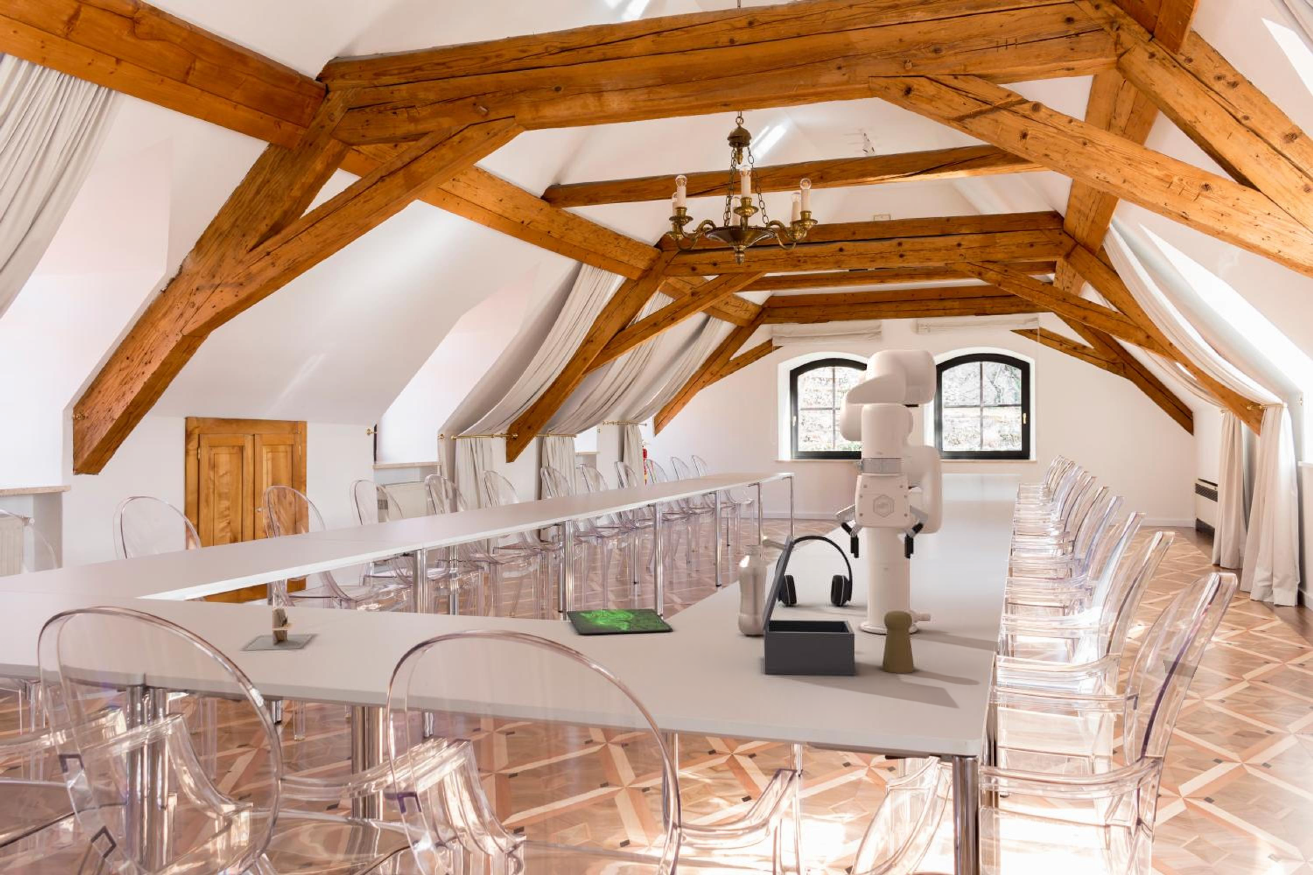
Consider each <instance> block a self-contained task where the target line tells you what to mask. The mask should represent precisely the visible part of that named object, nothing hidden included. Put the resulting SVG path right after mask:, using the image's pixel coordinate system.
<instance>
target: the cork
mask: <svg viewBox="0 0 1313 875" xmlns="http://www.w3.org/2000/svg"><path fill="white" fill-rule="evenodd" d="M884 624H885V626H886V628H887V633H886V634H885V640H884V641H885V642H884V647H883V648H884V650H883V658H882V665H881V669H882V671H885V672H888V673H894V674H895V673H896V674H906V673H907V674H908V673H912V672H913V673H914V671H915V664H914V663H915V662H914V656H913V649H912V642H911V633H909V629H910V627H911V625H912V618H911V616H910V614H909V613H907V612H903V611H891V612H888V613H886V615H885V617H884Z"/></svg>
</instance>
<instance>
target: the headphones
mask: <svg viewBox="0 0 1313 875" xmlns="http://www.w3.org/2000/svg"><path fill="white" fill-rule="evenodd" d="M793 540H794V545H793V547H794V546H795V545H796V544H799V543H801V542H805V541H812V540H815V541H823V542H826V543H828V544H830V545H832V546H833V547H834V548H835V549H836V550H838V552H839V553H840V554H841V556H842V558H843V559H844V562H845V564H846V566H847V571H848V578H847V576H846V575H844V574H842V575H841V574H834V575H833V576H832V580H831V585H830V586H831V587H830V603H831V604H832V605H835V606H842V607H843V606H844V605H845V604H846V603H848V602H849V603H850V602H851V601H852V596H853V586H854V585H853V572H852V568H851V567H852V566H851V563H850V562H849V561H850V560H849V559H848V557H847V555H846V554H845V552H844V550H843V549H842V548H841V547H840V545H838V543H836V542H835V541H833V540H832V539H830V538H828V537H826V536H822V535H816V534H815V535H814V534H810V535H803V536H800V537H797V538H795V539H793ZM781 555H782V553H780V555H779V557H778V559H777V562H776V565H775V570H774V575H775V574H776V571H777V567H778V564H779V561H780V558H781ZM797 598H798V597H797V590H796V584H795V579H794V576H793V575H792V574H784V577H783V580H782V584H781V587H780V590H779V593H778V596H777V602H778V603H780V602H781V603H782V604H784V606H786V607H788V606H794V605H796V604H797V603H798V599H797Z"/></svg>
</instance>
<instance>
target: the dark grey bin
mask: <svg viewBox="0 0 1313 875" xmlns="http://www.w3.org/2000/svg"><path fill="white" fill-rule="evenodd" d="M855 634H856V633H855V632H854V630H853V628H852V626H851V624H850V622H849V620H832V619H830V620H827V619H826V620H825V619H823V620H822V619H821V620H819V619H809V620H808V619H770V622H769V625H768V628H767V630H764V634H763V663H764V664H763V665H764V674H765V675H799V676H800V675H801V676H805V675H807V676H855V675H856V674H855V673H856V668H855V665H856V663H855V662H856V659H855V658H856V656H855V654H856V653H855V652H856V649H855V648H856V647H855V646H856V644H855V643H856V641H855V640H856V638H855V637H856V636H855Z"/></svg>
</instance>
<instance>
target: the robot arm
mask: <svg viewBox="0 0 1313 875" xmlns="http://www.w3.org/2000/svg"><path fill="white" fill-rule="evenodd" d="M866 366H867V367H866V370H863V371H862V372H860V373H859V375H858V378H857V385H855V386H853V387H851V388H850V389H849V390H848V391H846V392H845V394H844V395H843V397H842V400H841V402H840V403H841V404H840V409H839V416H838V429H839V432H840V435H841V437H842V438H844V440H846V441H848V442H861V458H860V460H858V461H853V469H854V470H859V471H860V472H861V474H858V475H857V479H856V485H855V486H856V487H855V495H854V504H852V505H850V506H848V507H846V508H844V509H842V510H840V511H838V512H836V513H835V517H836V520H837V521H838V523H839V525H840V527H841V528H842V529H843V531H844V532H845V533H847V535H848V536H849V537H850V538H849V540H850V543H849V545H850V546H849V548H850V551H849V552H850V554H853V558H854V559H859V558H860V537H859V536H858V534H859V533H860V532H861V530H862V529H863V528H864V529H865V536H866V554H867V555H866V557H867V558H866V560H867V562H866V563H867V565H866V566H867V567H866V568H867V571H866V572H867V574H866V575H867V576H866V578H867V580H866V581H867V582H866V583H867V585H866V586H867V590H866V591H867V594H866V595H867V599H866V600H867V602H866V603H867V605H866V606H867V620H865V621H862V622H860V629H861V630H862V631H864V632H868V633H873V634H880V635H886V633H887V628H886V626H885V624H884V617H885V615H886V613H888V612H891V611H903V612H907V613H909V614H910V616H911V618H912V625H911V627H910V629H909V633H910V634H912V633H915V632H917V630H918V625H917V624H916V623H918V622H930V621H931V620H932V616H931V613H930V612H919V611H918V612H916V611H915V610H914V609H911V555H914V553H915V544H914V542H915V540H914V538H915V537H916V535H932V534H936V533H938V532H939V530H940V529H941V527H942V523H943V481H942V480H943V479H942V478H943V476H942V474H943V473H942V471H943V470H942V461H941V460H942V459H941V456H940V453H939V451H938V450H937V448H935V447H934V446H933V445H929V444H928V445H927V444H909V442H908V437H909V436H910V434H911V433H912V431H913V429H914V428H913V427H914V417H913V413H912V412H911V411H910V408H908V407H907V406H906V405H925V404H930V403H931V402H932V401H933V400H934V398H935V397H936V392H937V366H936V362H935V359H934V357H933V355H932V354H931V353H930V352H929V351H927V350H926V349H919V348H918V349H886V350H880V351H877V352H875V353H874V354H873V355H872V356H871V357H870V358H869V359H868V362H867V365H866ZM909 487H917V488H919V489H920V490H921V491H909ZM851 514H854V516H853V518H854V522H855V524H854V525H853V526H852V527H851V526H850V525H849V524H848V522H847V520H846V517H847V516H850V515H851ZM898 535H905V536H904V542H903V541H902V540H901V538H900V537H899V536H898Z"/></svg>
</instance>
